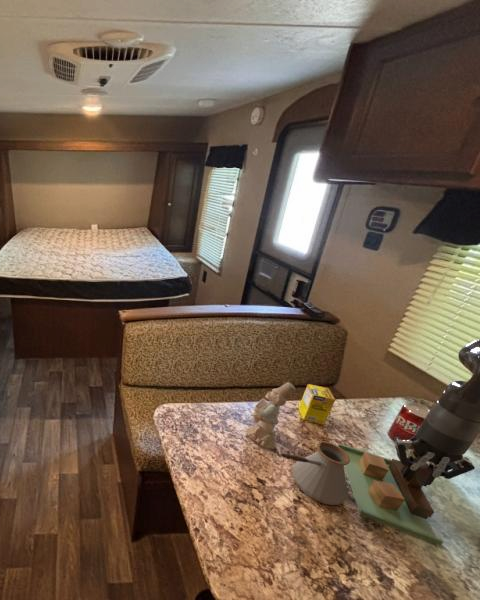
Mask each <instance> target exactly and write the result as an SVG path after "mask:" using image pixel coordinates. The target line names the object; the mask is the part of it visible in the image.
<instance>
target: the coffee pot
mask: <svg viewBox="0 0 480 600" xmlns="http://www.w3.org/2000/svg"><path fill="white" fill-rule="evenodd" d="M316 450H317V451H315V452H313V453H312V454H310V455H308V456H305V457H303V456H300V455H296V454H290V453H288V452H287V453H284V452H282V453H281V452H279V451H276V452H275V453H274V457H275V460H276V461H278V463H283V462H285V459H287V460H292V461H293V462H295V463H294V464H292V465H293V466H292V467H291V472H292V476H293V477H292V478H293V480H294V483H296V485H297V486H298V487H299V489H300V490H301V491H302V492H303V493H304V494H306V496H308V497H309V498H311V499H312V500H315V501H316V502H319V503H321V504H325V505H330V506H338V505H341V504H344V503H345V502H346V500H348V495H349V492H348V487H347V486H348V485H347V480H346V471H345V467H344V465H347V464H349V463H350V458H349V456H348V454H347V453H346V452H345V451H344V450H343V449H341V448H340V447H338V445H337V444H334V443H331V442H328V441H324V440H320V441H318V442H317V444H316ZM278 453H279V455H280V457H282V461H280V460H279V459H278V458H277V454H278Z"/></svg>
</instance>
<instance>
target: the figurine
mask: <svg viewBox="0 0 480 600" xmlns="http://www.w3.org/2000/svg"><path fill="white" fill-rule="evenodd" d="M296 390H297V388H296V387H295V386H294V385H293V384H292V383H291V382H290V381H287V382H285V383H284V384H282V385H280V386H278V387H277V388H272V390H271V391H267V393H266V395H265V398H264V397H263V398H261V399H260V400H259V401H258V402H257V404H256V405H255V406H253V411H254V412H253V413H252V412H251V413H250V416H252V418H251V422H252V423H254V425H250V426H248V427H247V428H246V430H245V432H246V434H247V436H248V437H249V438H250V439H252V440H253V441H254V442H256V443H257V444H258V445H260V446H261V447H263V448H265V449H271V450H275V449H276V448H277V442H276V433H277V429H276V425H278V424H279V418H278V416H279V414H280V407H282V406H285V405H286V403H287V399H288V397H289V396H291V395H292V394H293V393H294V392H295V391H296ZM267 400H268V401H267Z"/></svg>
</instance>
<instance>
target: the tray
mask: <svg viewBox="0 0 480 600" xmlns="http://www.w3.org/2000/svg"><path fill="white" fill-rule="evenodd" d="M337 446H338V447H340V448H341V449H343V450H344V451H345V452H346V453H347V454H348V456H349V458H350V463H349V464H347V465H344V471H345V474H346V476H347V480H348V482H349V485H350V488H351V491H352V493H353V494H352V495H353V497H354V500H355V503H356V507H357V509H358V512H359V515H360V516H361V517H363V518H367V519H369V520H371V521H374V522H376V523H379V524H382V525H384V526H387V527H390V528H393V529H395V530H398V531H400V532H403V533H406V534H409V535H411V536H413V537H416V538H418V539H421V540H424V541H427V542H429V543H432V544H434V545H438V546H442V545H443V544H444V541H443V539H441V538H439V537H437V536H436V534H435V531H434V530H433V527H432V526H431V524H430V522H429V520H428V519H424V518H421V517H419V516H416V515H413V514H411V513H410V511H409V508H408V506H407V504H406V502H405V500H404V502H403V503H402V505H401V506H400V507H399V509H398V510H393V509H387V508H382V507H378V505H377V504H376V502H375V501H374V499H373V498H372V496H371V495H370V494H369V492H368V491H369V489H370V487H371V486H372V484H373V482H374V481H380V482H385V483H391V484H393V485H394V486H395V487H396V488H397V490H398V491H399V492H400V490H399V488H398V486H397V484H396V482H395V480H394V478H393V476H392V474H391V472H390V470H389V471H388V472H387V474H386V475H385V477H384V479H383V480H379V479H376V478H373V477H370V476H367V475H364V474H363V472H362V469H361V467H360V464H359V461H360V460H361V458H362V456H363V454H364V452H366V453H369V454H372V455H375V456H378V457H381V458H383V459H384V461H385V463H386V465H387V467H389V463H390V462H391V460H392V459H390V458H386V457H384V456H380V455H377V454H375V453H371V452H368V451H364V450H361V449H358V448H355V447H352V446H348V445H345V444H343V443H338V445H337ZM388 469H389V468H388ZM400 494H401V492H400ZM401 495H402V494H401Z"/></svg>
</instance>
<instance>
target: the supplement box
mask: <svg viewBox="0 0 480 600" xmlns="http://www.w3.org/2000/svg"><path fill="white" fill-rule="evenodd" d="M335 402H336V399H335V397H334V394H333V393H332V392H331V390H330V388H328V387H324V386H319V385H314V384H309V383H308V384H306V388H305V390H304V392H303V395H302V398H301V400H300V402H299V404H298V411H299V414H300V416H301V418H302V420H303V421H307V422H311V423H315V424H320V425H323V426H324V425H325V423H326V421H327V419H328V417H329V415H330V412H331V410H332V409H333V406H334V404H335Z"/></svg>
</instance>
